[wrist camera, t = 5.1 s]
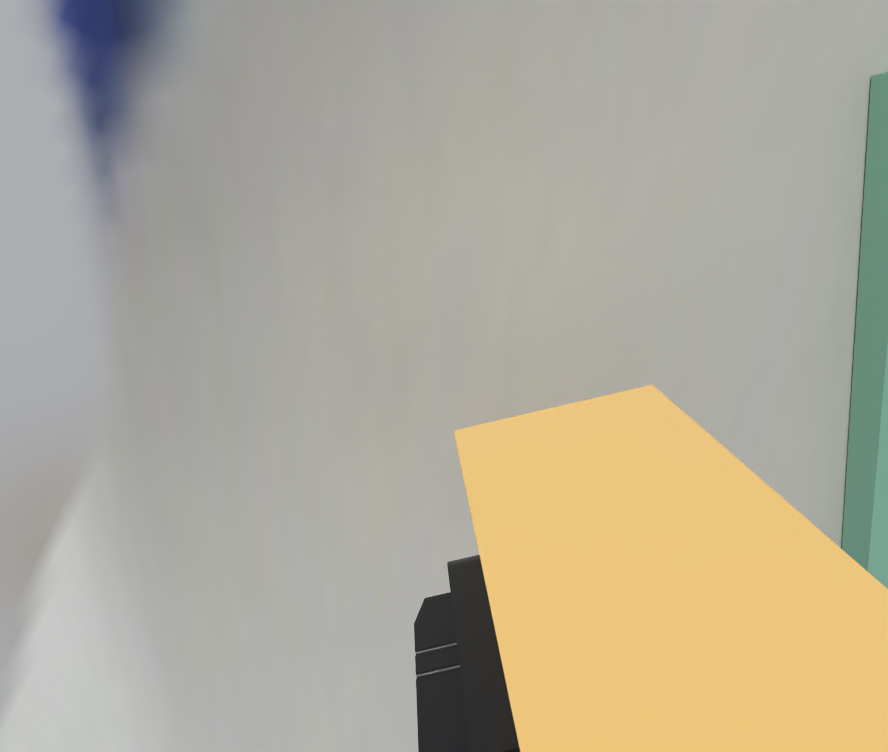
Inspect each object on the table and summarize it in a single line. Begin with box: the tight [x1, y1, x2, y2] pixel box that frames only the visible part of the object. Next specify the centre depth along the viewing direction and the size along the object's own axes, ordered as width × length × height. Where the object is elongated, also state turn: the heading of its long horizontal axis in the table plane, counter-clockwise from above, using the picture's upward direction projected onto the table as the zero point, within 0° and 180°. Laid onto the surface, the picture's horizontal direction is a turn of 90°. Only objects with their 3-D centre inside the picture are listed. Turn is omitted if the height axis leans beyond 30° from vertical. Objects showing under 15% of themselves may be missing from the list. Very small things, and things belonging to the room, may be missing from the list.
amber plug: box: [454, 385, 888, 752], centre depth 8 cm, size 4×5×8 cm
